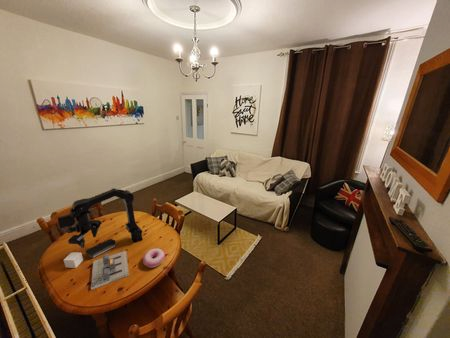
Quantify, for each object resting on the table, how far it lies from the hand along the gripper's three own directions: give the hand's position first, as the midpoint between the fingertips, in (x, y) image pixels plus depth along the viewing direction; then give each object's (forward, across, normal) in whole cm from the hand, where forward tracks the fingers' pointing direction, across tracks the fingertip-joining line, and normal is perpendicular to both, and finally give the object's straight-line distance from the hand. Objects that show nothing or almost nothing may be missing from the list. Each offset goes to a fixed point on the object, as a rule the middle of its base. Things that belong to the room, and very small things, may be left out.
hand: (89, 242), depth 110 cm
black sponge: (+14, -8, 0) cm, 16 cm away
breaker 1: (+12, +2, +10) cm, 16 cm away
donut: (+14, -2, +38) cm, 41 cm away
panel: (+14, +6, +15) cm, 21 cm away
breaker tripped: (+12, +5, +16) cm, 20 cm away
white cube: (+14, +4, -9) cm, 17 cm away
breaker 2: (+12, +12, +17) cm, 24 cm away
